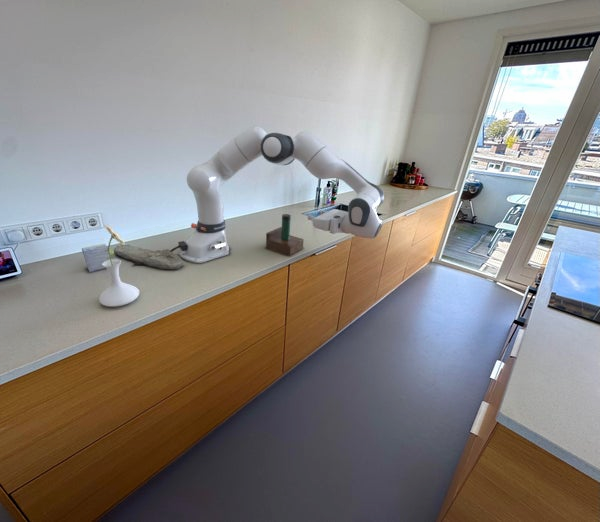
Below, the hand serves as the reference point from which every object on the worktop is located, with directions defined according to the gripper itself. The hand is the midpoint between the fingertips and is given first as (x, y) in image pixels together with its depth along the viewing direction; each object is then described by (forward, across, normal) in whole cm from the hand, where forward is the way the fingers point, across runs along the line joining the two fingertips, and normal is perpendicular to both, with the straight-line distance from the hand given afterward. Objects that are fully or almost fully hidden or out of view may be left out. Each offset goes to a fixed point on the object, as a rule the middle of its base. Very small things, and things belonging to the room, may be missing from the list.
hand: (313, 214), depth 127 cm
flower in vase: (+33, +70, +21) cm, 80 cm away
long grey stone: (+52, +48, +21) cm, 73 cm away
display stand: (+14, 0, +20) cm, 25 cm away
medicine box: (+60, +63, +21) cm, 89 cm away
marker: (+14, 0, +15) cm, 21 cm away
